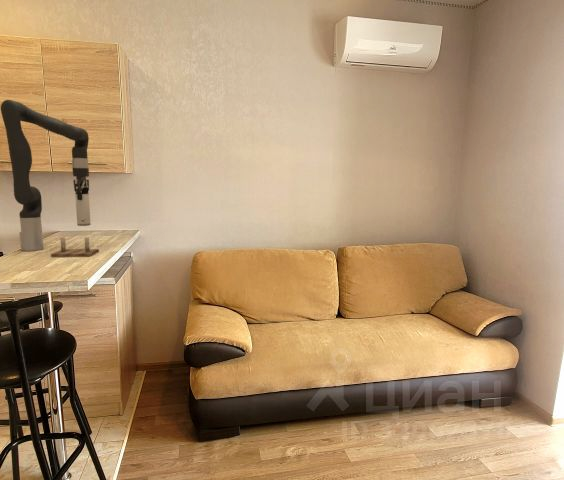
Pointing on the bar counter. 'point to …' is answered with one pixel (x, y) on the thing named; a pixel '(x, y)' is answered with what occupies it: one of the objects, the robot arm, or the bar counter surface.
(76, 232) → the bar counter surface
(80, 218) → the travel mug
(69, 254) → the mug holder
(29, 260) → the bar counter surface
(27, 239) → the robot arm
